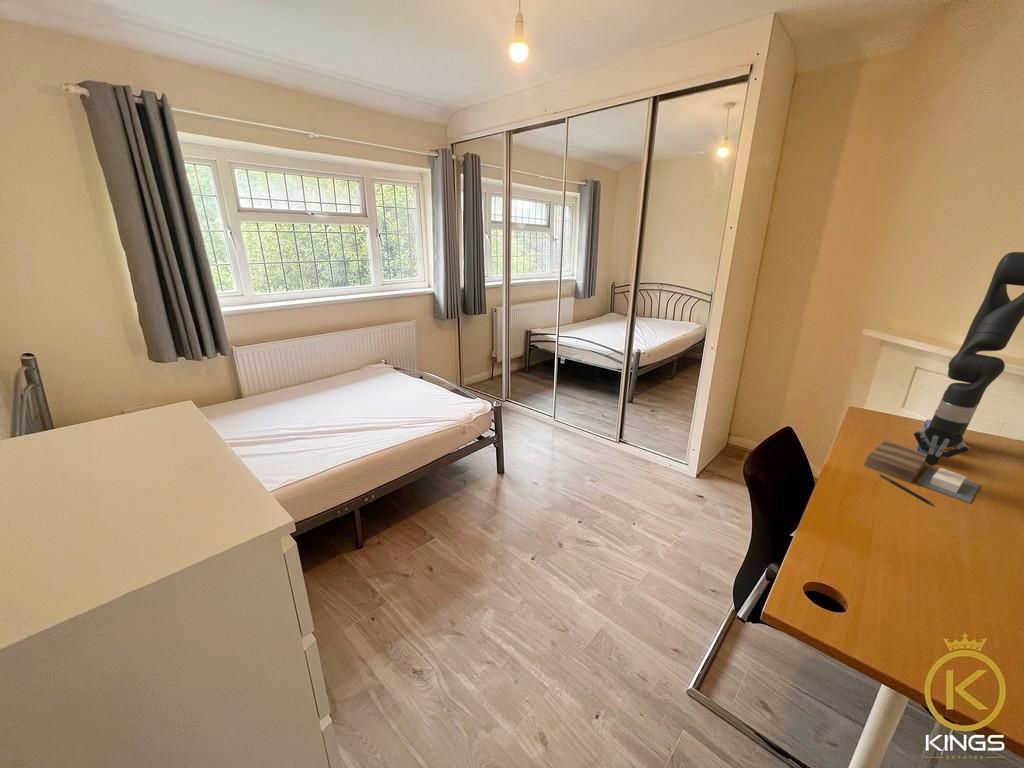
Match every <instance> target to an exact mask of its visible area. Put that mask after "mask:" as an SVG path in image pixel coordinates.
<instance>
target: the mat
mask: <svg viewBox="0 0 1024 768" xmlns="http://www.w3.org/2000/svg"><path fill="white" fill-rule="evenodd" d="M938 470H939V469H936V468H934V467H932V466H928V468H926V470H924V472H923V473H922V475H921V476H920V477H919V478H918V479H917V480H916V482H915V484H916V485H918V486H922V487H924V488H927V489H930V490H932V491H935V492H938V493H940V494H943V495H946V496H949V497H951V498H953V499H957V500H959V501H962V502H965V503H966V504H971V502H972V500H973V498H974V497H975V495H976V493H977V491H978V490H979V488H980V485H981V483H977V482H975V481H971V480H968V479H967V478H965V480H964V482H963V484H962V485H961V487H960V488H959V490H958V491H957V493H955V492H952V491H949V490H947V489H944V488H941V487H938V486H936V485H933V484H930V481H931V479H932V477H933V476H934V475H935V473H936V472H937V471H938Z"/></svg>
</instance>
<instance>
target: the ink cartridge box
mask: <svg viewBox="0 0 1024 768" xmlns="http://www.w3.org/2000/svg"><path fill="white" fill-rule="evenodd" d="M931 421H932V419H926V420H925V423H924V425H923V428H922V430H921V431H925V429H926V428H928V427H929V425H930V423H931ZM924 439H925V441H926V443H927V445H928V446H929V447H930V444H931V443H930V442H929V440H928V438H927V436H926V434H925V437H924ZM939 448H940V446H939V445H937V447H936V450H935V454H936V453H937V451H938V449H939ZM914 450H915V451H918V452H921V453H924V454H927V455H928V452H926V451H925V450H922V449H921V447H920V445H919V443H918V442H917V441H916V446H915V448H914Z"/></svg>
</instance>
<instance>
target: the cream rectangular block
mask: <svg viewBox="0 0 1024 768" xmlns="http://www.w3.org/2000/svg"><path fill="white" fill-rule="evenodd" d="M937 470H938V471H937V472H936V473H935V475H934V476H933V477H932V479H931V481H930V484H933V485H936V486H938V487H941V488H944V489H947V490H949V491H952V492H955V493H957V491H958V490H959V488H960V487H961V485H962V484H963V482H964V480H965V479H967V476H966V475H962V474H959V473H956V472H953V471H952V470H951V471H950V470H948V469H945V468H942V467H939V468H938V469H937Z"/></svg>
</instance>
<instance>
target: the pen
mask: <svg viewBox="0 0 1024 768" xmlns="http://www.w3.org/2000/svg"><path fill="white" fill-rule="evenodd" d="M879 477H880V478H882V479H883V480H885V481H887V482H889V483H890V484H892V485H894V486H896V487H897V488H899V489H901V490H902V491H905V492H906V493H908V494H910V495H912V496H913V497H915V498H917V499H918V500H920V501H923V502H924V503H926V504H927V505H930V506H932V507H935V504H934V503H933V502H931V501H930V500H928V499H926V498H925V497H923V496H921V495H919V494H918V493H915V492H914V491H912V490H911V489H909V488H907V487H905V486H903V485H902V484H900V483H898V482H896V481H894V480H893V479H891V478H889V477H887V476H886V475H883V474H880V475H879Z"/></svg>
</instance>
